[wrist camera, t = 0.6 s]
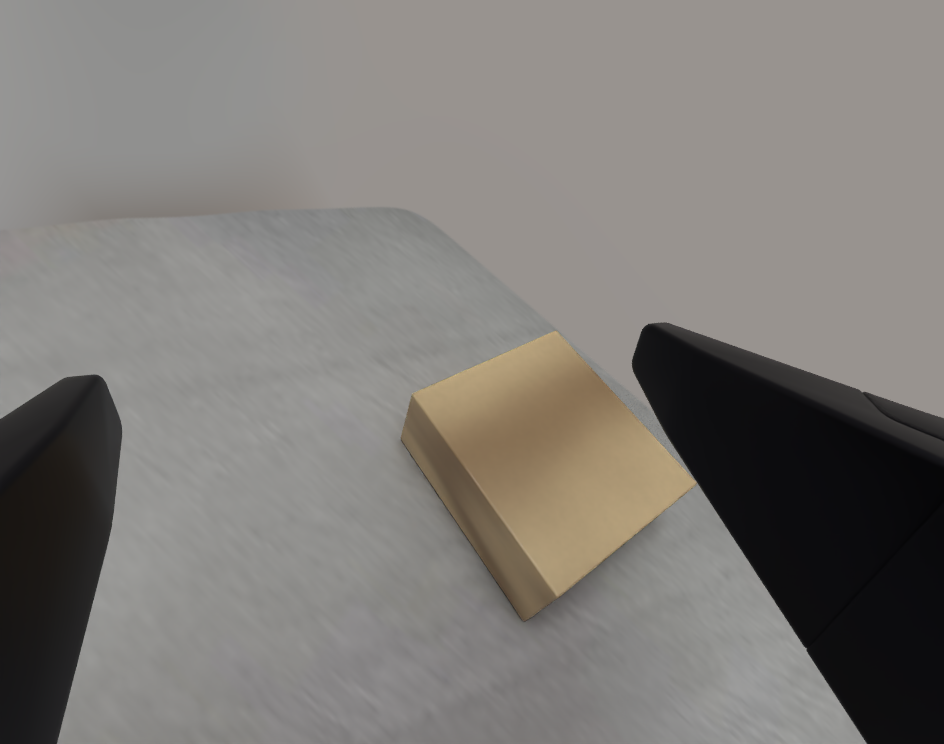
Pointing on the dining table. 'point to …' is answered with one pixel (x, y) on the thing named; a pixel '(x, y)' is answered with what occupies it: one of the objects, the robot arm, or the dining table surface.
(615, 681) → the dining table surface
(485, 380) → the stand
